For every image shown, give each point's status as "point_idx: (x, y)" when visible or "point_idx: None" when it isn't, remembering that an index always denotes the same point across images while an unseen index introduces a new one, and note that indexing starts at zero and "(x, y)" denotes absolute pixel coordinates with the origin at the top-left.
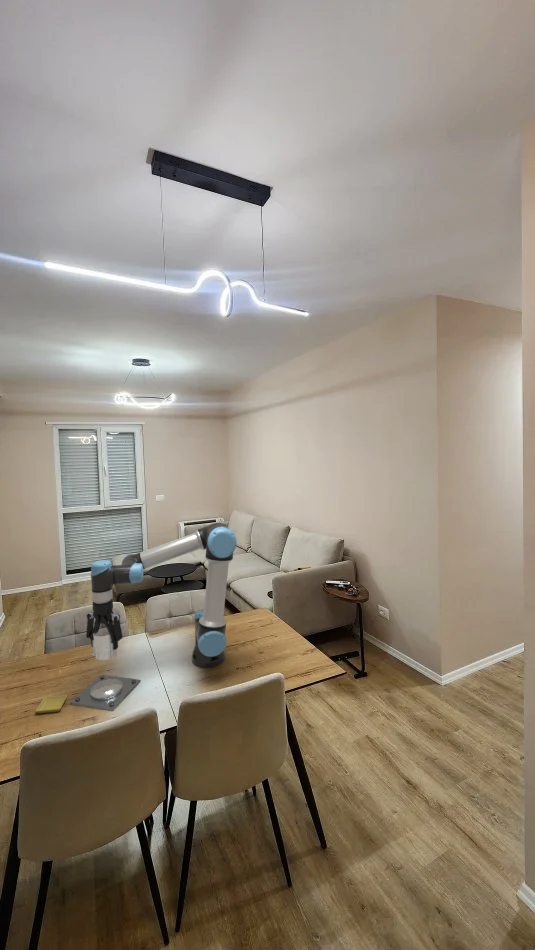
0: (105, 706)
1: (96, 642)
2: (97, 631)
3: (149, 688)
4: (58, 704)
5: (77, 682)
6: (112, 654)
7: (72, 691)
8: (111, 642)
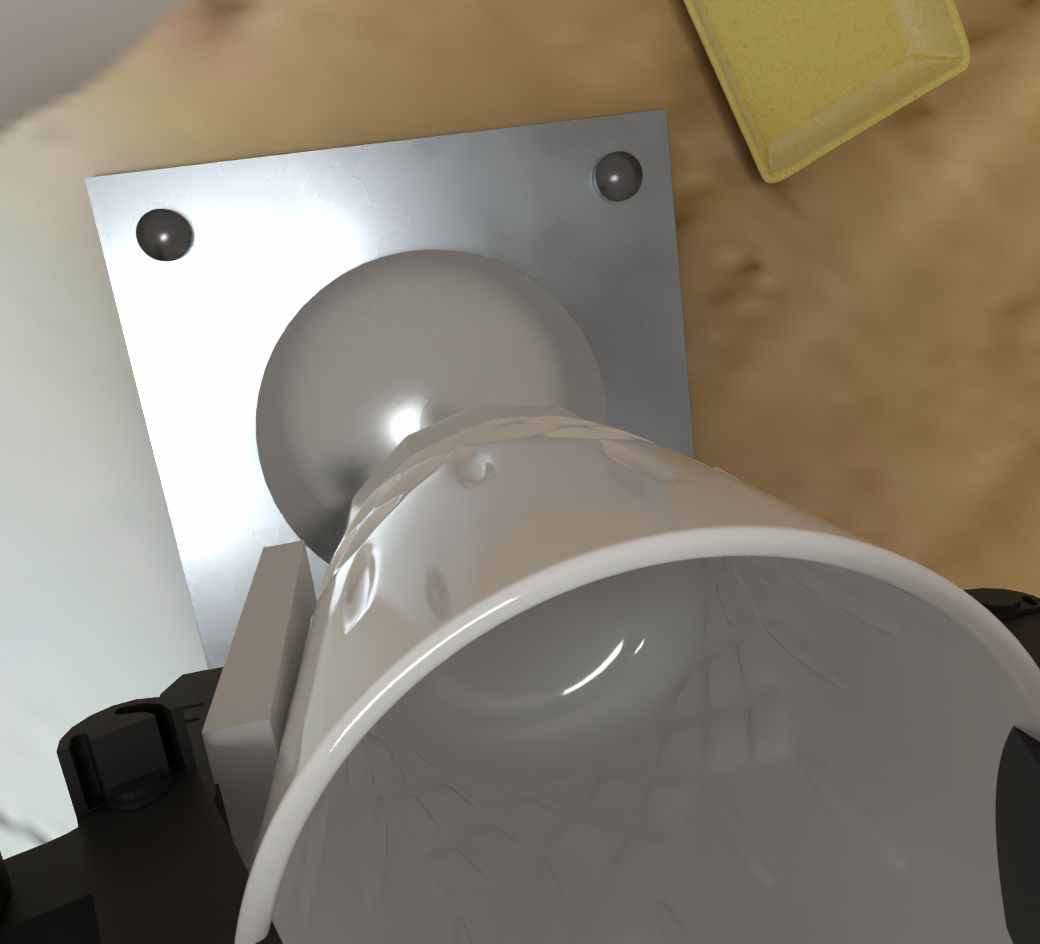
0: (212, 185)
1: (652, 472)
2: (1014, 890)
3: (26, 654)
4: (765, 64)
5: (854, 438)
6: (256, 579)
7: (793, 302)
8: (164, 706)
